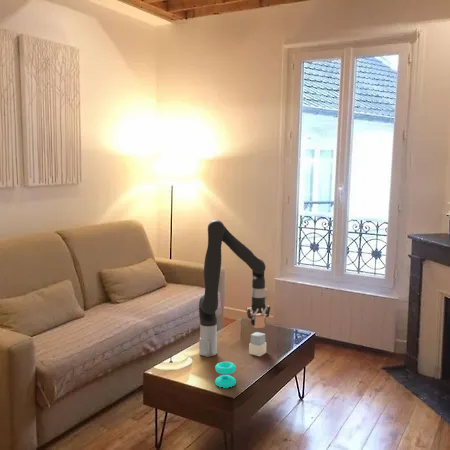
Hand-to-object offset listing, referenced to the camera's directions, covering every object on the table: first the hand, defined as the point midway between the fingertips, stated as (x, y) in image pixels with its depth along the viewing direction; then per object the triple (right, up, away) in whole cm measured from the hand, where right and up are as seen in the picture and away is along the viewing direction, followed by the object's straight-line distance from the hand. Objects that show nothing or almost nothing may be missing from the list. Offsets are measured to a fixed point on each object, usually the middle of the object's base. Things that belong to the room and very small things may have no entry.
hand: (258, 324), depth 273 cm
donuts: (-18, -21, -37) cm, 47 cm away
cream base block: (0, -16, +2) cm, 16 cm away
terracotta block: (0, -1, 0) cm, 1 cm away
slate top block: (0, -10, +1) cm, 10 cm away
